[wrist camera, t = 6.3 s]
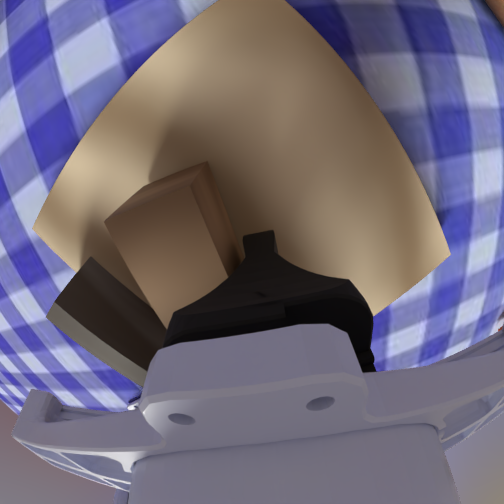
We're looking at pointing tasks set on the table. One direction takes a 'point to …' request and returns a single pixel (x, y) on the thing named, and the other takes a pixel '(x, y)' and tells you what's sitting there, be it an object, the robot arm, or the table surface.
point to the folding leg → (176, 239)
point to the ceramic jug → (497, 9)
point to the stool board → (240, 172)
